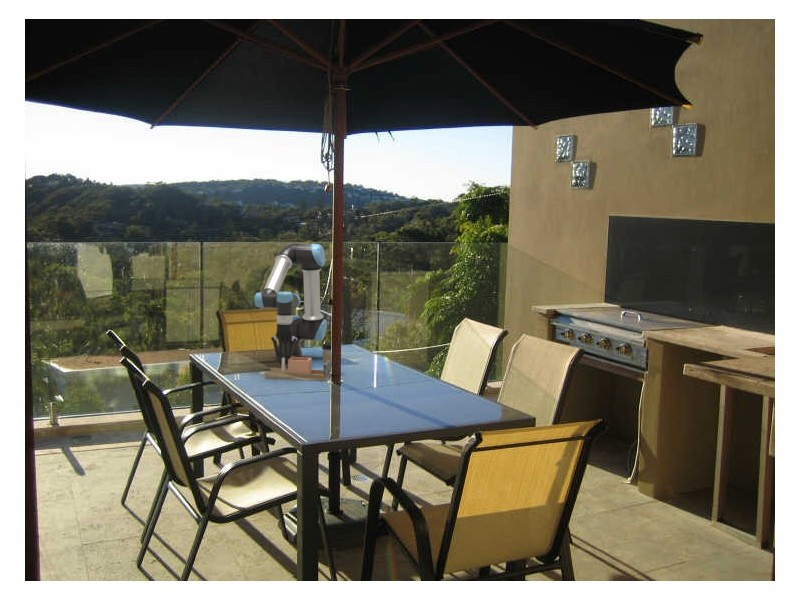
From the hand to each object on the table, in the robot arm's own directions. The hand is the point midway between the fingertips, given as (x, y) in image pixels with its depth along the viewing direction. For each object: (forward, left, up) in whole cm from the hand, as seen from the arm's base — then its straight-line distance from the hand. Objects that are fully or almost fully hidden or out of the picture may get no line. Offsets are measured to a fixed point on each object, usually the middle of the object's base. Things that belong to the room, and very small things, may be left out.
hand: (283, 370), depth 407 cm
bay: (0, +7, -3) cm, 8 cm away
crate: (0, +8, -2) cm, 8 cm away
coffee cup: (-13, +21, -3) cm, 25 cm away
